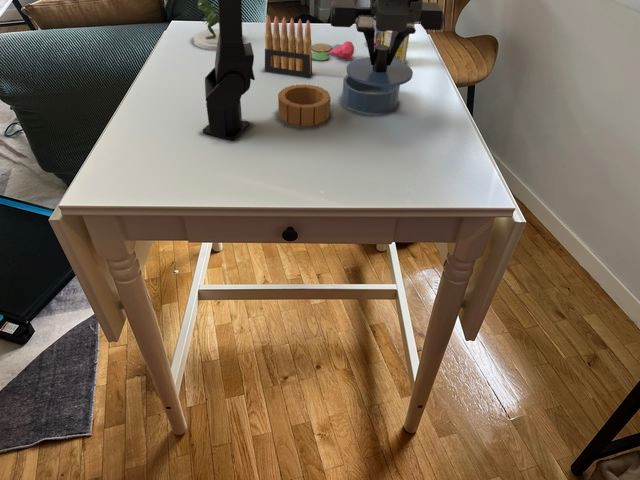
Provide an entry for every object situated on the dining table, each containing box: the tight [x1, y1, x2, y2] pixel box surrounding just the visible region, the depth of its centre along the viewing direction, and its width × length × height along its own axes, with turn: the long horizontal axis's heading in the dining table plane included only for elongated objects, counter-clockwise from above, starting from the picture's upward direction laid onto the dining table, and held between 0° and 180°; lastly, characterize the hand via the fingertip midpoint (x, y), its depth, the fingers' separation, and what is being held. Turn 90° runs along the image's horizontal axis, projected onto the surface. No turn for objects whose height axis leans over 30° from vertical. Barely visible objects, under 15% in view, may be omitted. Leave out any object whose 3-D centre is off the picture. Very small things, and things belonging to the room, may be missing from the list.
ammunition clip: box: [264, 14, 313, 79], centre depth 106 cm, size 11×2×12 cm, turn 75°
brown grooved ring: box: [277, 84, 331, 127], centre depth 94 cm, size 10×10×4 cm
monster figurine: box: [192, 0, 219, 51], centre depth 119 cm, size 12×12×10 cm
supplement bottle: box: [384, 31, 410, 63], centre depth 113 cm, size 6×6×10 cm
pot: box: [341, 74, 401, 114], centre depth 99 cm, size 11×11×4 cm
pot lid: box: [346, 45, 414, 87], centre depth 87 cm, size 12×12×5 cm
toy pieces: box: [311, 40, 355, 62], centre depth 117 cm, size 12×11×4 cm
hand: (380, 64), depth 87 cm, fingers closed on pot lid, 3 cm apart
